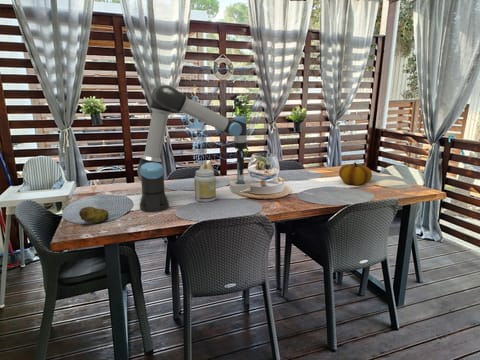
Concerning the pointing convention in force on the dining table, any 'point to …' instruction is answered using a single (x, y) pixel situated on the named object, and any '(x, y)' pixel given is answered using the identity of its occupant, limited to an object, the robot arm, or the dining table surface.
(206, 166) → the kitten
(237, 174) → the peg
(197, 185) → the supplement tub
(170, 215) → the dining table surface
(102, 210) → the potato
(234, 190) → the socket block
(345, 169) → the decorative pumpkin
